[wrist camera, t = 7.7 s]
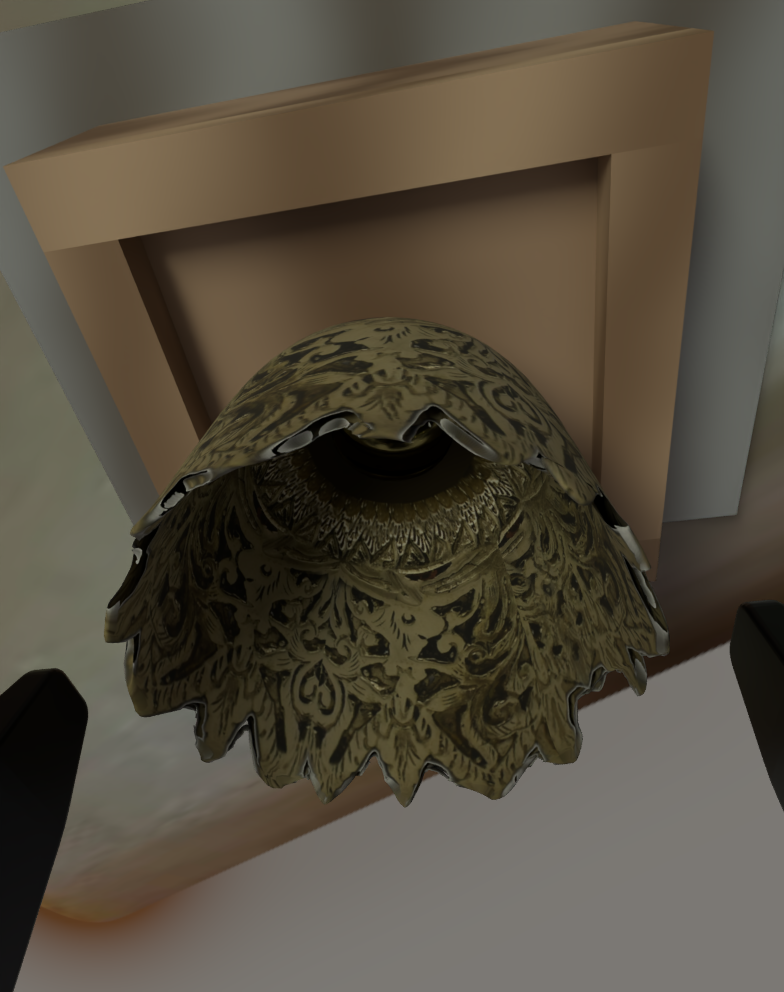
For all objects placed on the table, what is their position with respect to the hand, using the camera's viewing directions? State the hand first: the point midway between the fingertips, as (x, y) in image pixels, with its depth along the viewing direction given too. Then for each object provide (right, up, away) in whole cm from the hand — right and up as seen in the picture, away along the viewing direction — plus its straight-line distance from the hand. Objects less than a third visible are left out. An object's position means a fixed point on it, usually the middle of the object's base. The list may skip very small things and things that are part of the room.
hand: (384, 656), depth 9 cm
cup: (0, +5, +7) cm, 8 cm away
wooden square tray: (0, +8, +11) cm, 13 cm away
